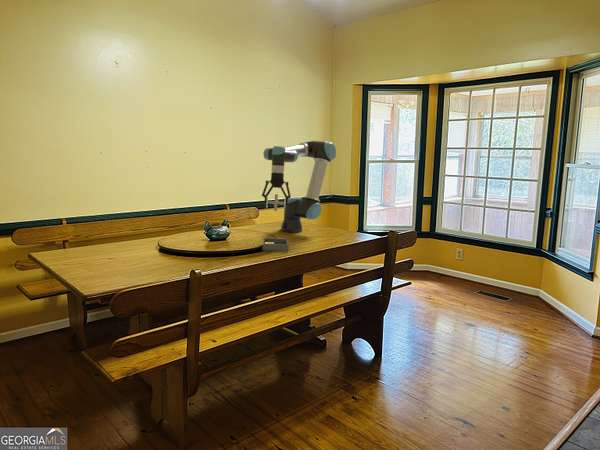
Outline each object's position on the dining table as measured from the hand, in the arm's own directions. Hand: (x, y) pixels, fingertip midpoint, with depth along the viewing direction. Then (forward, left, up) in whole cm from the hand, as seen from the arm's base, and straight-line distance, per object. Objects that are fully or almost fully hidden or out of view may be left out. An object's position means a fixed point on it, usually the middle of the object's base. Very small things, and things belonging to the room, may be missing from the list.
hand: (275, 208), depth 272 cm
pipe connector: (0, 0, -1) cm, 1 cm away
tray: (+14, 0, -21) cm, 25 cm away
